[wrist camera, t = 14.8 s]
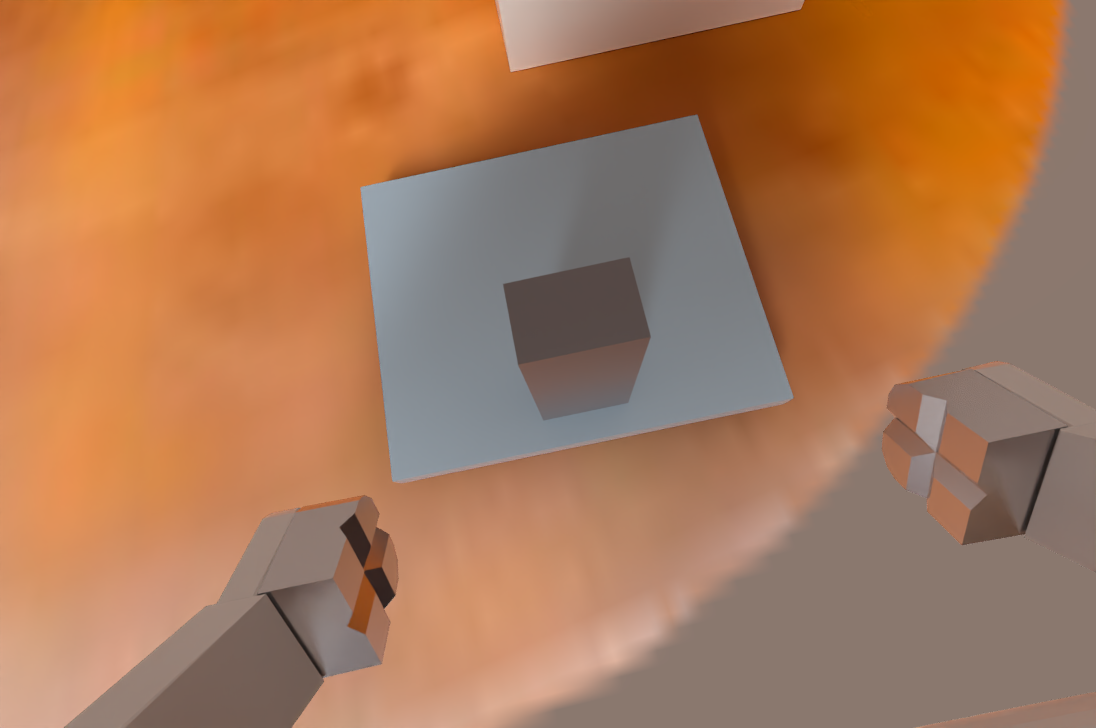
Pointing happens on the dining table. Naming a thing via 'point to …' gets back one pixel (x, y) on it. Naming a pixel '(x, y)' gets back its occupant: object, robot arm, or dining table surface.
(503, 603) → the dining table surface
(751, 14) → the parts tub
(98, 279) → the dining table surface
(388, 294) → the lid
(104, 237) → the dining table surface
